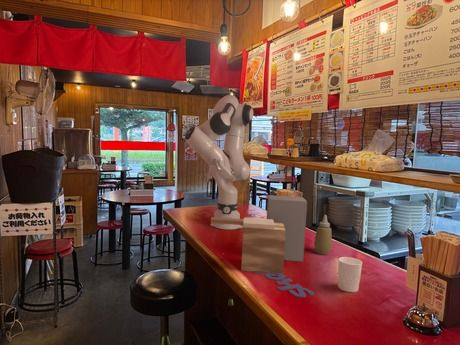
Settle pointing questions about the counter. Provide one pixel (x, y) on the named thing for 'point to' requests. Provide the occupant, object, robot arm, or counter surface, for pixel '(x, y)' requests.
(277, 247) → the box
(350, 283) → the white cup
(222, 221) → the lid flap
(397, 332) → the counter surface
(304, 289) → the signage
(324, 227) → the squeeze bottle
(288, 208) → the carton
